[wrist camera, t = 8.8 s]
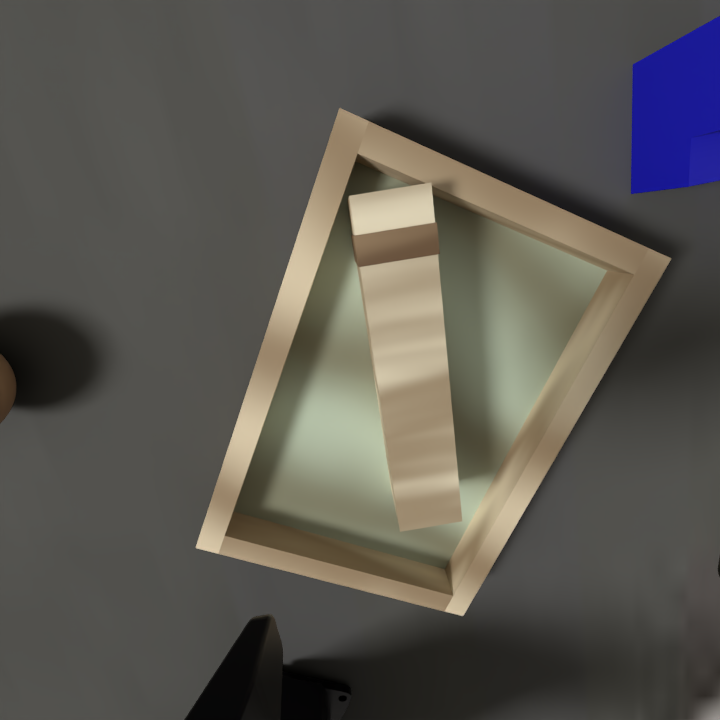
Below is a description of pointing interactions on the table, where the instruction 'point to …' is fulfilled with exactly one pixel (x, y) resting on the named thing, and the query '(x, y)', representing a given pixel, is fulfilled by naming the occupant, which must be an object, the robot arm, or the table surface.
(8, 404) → the bead
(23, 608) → the table surface
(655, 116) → the cable clip
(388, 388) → the tall beige post
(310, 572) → the tray
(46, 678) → the table surface
